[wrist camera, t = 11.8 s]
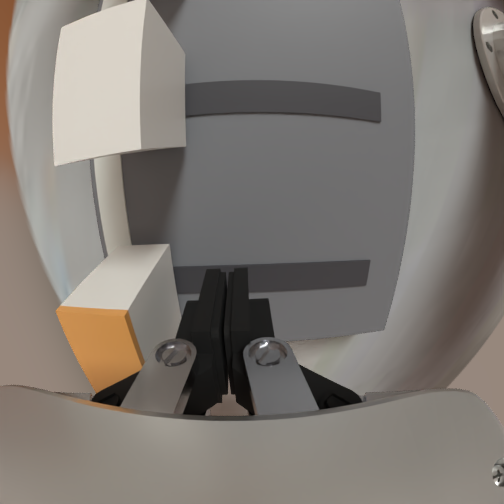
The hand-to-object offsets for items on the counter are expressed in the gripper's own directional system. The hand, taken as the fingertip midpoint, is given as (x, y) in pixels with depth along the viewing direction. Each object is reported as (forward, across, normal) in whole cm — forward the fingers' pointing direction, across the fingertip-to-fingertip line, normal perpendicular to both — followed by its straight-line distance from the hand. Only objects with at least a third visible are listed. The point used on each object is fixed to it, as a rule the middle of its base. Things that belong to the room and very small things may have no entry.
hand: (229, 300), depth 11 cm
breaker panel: (+4, -1, -8) cm, 9 cm away
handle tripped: (+1, +4, 0) cm, 4 cm away
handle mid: (+1, +3, -8) cm, 9 cm away
